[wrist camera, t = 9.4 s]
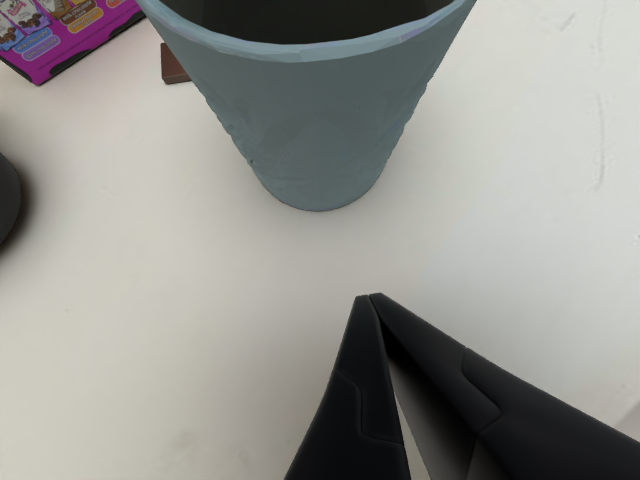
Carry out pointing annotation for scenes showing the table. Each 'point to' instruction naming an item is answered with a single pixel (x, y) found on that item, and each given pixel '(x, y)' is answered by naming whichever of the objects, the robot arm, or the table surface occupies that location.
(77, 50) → the candy bar box
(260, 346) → the table surface
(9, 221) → the mug
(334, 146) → the blue cup
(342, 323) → the table surface
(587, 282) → the table surface
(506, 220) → the table surface
